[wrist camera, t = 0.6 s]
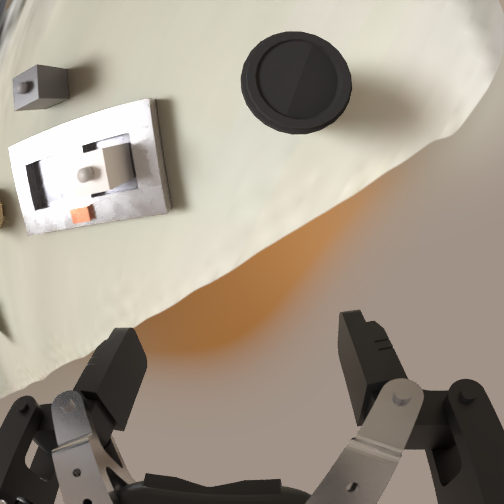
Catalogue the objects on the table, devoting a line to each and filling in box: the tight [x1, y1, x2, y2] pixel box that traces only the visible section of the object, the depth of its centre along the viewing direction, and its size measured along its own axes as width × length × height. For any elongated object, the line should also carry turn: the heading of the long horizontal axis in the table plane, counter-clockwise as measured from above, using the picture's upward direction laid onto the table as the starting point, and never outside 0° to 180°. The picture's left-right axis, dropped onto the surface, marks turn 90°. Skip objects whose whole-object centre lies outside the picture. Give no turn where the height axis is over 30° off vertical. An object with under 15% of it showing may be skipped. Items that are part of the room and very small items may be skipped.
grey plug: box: [13, 65, 69, 111], centre depth 27 cm, size 5×5×8 cm
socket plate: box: [9, 98, 172, 236], centre depth 34 cm, size 14×24×3 cm, turn 96°
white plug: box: [69, 143, 134, 197], centre depth 31 cm, size 5×5×8 cm
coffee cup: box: [241, 32, 352, 134], centre depth 25 cm, size 8×8×15 cm
